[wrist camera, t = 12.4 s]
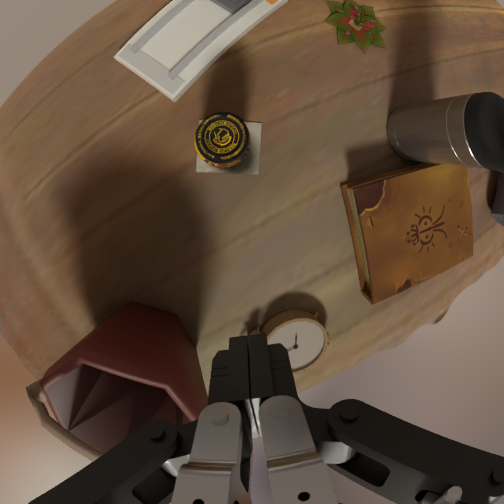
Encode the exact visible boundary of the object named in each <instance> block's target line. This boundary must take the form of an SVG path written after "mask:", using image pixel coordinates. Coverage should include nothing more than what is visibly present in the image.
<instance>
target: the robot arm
mask: <svg viewBox="0 0 504 504" xmlns="http://www.w3.org/2000/svg"><path fill="white" fill-rule="evenodd" d="M387 134H388V139H389V142H390V144H391V146H392V148H393V150H394V151H395V152H396V153H397V155H399V156H400V157H401V158H403V159H405V160H408V161H417V162H428V163H440V164H450V165H460V166H468V167H477V168H484V169H490V170H496V171H499V172H502V173H504V99H503V98H502V97H500V96H499V95H497V94H495V93H492V92H481V93H474V94H467V95H460V96H455V97H449V98H443V99H437V100H432V101H427V102H422V103H417V104H412V105H408V106H403V107H399V108H397V109H395V110H394V111H393V112H392V114H391V115H390V117H389V120H388V124H387ZM258 429H259V433H260V436H261V437H263V443H264V449H265V454H266V460H267V468H268V474H269V479H270V484H271V490H272V495H273V500H274V504H341V503H338V502H337V499H336V496H335V493H334V490H333V487H332V484H331V482H330V479H329V476H328V473H327V470H326V467H325V464H324V463H326V464H327V465H328V466H329V467H330V468H332V469H334V470H335V471H337V472H339V473H340V474H342V475H344V476H345V477H347V478H349V479H351V480H352V481H354V482H356V483H358V484H360V485H361V486H363V487H365V488H367V489H369V490H371V491H373V492H375V493H377V494H379V495H381V496H383V497H385V498H387V499H389V500H391V501H393V502H395V503H397V504H493V503H494V502H496V501H497V500H498V499H500V497H502V496H503V495H504V457H502V456H499V455H496V454H492V453H489V452H486V451H483V450H480V449H477V448H474V447H471V446H468V445H465V444H462V443H459V442H456V441H454V440H451V439H448V438H446V437H443V436H441V435H438V434H435V433H433V432H430V431H428V430H425V429H423V428H420V427H418V426H415V425H413V424H411V423H408V422H406V421H404V420H401V419H399V418H397V417H395V416H392V415H390V414H388V413H386V412H383V411H381V410H379V409H377V408H375V407H373V406H370V405H368V404H366V403H364V402H362V401H359V400H355V399H346V400H342V401H340V402H337V403H336V404H334V405H333V406H332V407H331V408H330V409H319V408H312V407H310V406H307V405H305V404H304V403H303V402H301V400H300V399H299V397H298V395H297V391H296V386H295V382H294V377H293V373H292V368H291V363H290V359H289V354H288V350H287V349H286V348H285V347H284V346H283V345H282V344H281V343H276V344H269V345H268V342H267V336H266V333H261V334H254V335H249V340H248V336H239V337H231V338H230V339H229V350H222V351H218V352H217V354H216V355H215V357H214V358H213V360H212V370H211V378H210V387H209V396H208V405H207V407H206V408H204V409H203V410H202V412H201V413H200V415H199V418H198V419H196V420H194V421H192V422H189V423H186V424H182V425H179V426H175V425H174V424H173V423H172V422H170V421H168V420H164V419H155V420H152V421H149V422H147V423H146V424H144V425H143V426H142V427H140V428H139V429H138V430H136V431H135V432H134V433H132V434H131V435H130V436H128V437H127V438H126V439H124V440H123V441H121V442H120V443H119V444H117V445H116V446H115V447H113V448H112V449H110V450H109V451H108V452H106V453H105V454H103V455H102V456H101V457H99V458H98V459H96V460H95V461H93V462H92V463H91V464H89V465H88V466H86V467H85V468H83V469H82V470H80V471H79V472H77V473H76V474H74V475H73V476H71V477H70V478H68V479H66V480H65V481H63V482H62V483H60V484H59V485H57V486H55V487H54V488H52V489H51V490H49V491H47V492H46V493H44V494H42V495H41V496H39V497H37V498H36V499H34V500H32V501H31V502H29V503H28V504H169V503H170V502H171V504H252V501H251V486H252V465H253V452H252V451H253V444H252V438H257V437H259V435H258Z"/></svg>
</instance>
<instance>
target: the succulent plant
mask: <svg viewBox="0 0 504 504" xmlns="http://www.w3.org/2000/svg"><path fill="white" fill-rule="evenodd" d="M326 2H327V4H328V6H329V8H330V9H331V11H332V13H333V15H331V16H330V17H329V18H328V19H327V20H324V22H327V23H330V24H332V25H335V26H337V27H338V40H339V41H338V44H342V43H351V42H355V41H356V42H357V43H358V45H359V46H360V47H361V49H362V50H363V51H364V53H366V51H367V49H368V47H369V46H370V44H373V45H376V46H379V47H383V48H385V45H384V43H383V40H382V37H381V36H380V34H379V33H378V32H381V31H382V30H383V29H384V28H386V27H384V26H383V25H382V24H381V23H380V22H379V21H378V20H377V19H375V18H379V17H375V14H374V11H373V7H366V6H362V7H360V6H359V5H358V4H356V3H355V2H353V1H351V0H347V1H346V2H345V5H342V4H340V3H336V2H329V1H326ZM337 9H338V10H340V11H344V12H345V14H346V15H345V14H343V13H339V12H338V10H337ZM366 13H367V15H366V16H365V17H363V14H366ZM353 17H355V18H356V19H357V21H355V19H354V21H355V24H356V25H357V26H362V25H364V26H362V29H361V30H360V31H357V30H356V29H354V28H353V27H352V26H351V25H350V24H348V23H349V21H350V20H351V19H352V18H353ZM360 23H362V24H360ZM346 30H351V35H346ZM368 32H369V33H371V35H372V37H373V38H371V36H370V34H369V33H368ZM385 49H386V48H385Z"/></svg>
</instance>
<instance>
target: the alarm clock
mask: <svg viewBox="0 0 504 504" xmlns="http://www.w3.org/2000/svg"><path fill="white" fill-rule="evenodd" d="M318 314H319V312H318V311H317V312H316V313H315V314H314V316H313V315H312V314H311V313H309V312H306V311H303V310H288V311H285V312H282V313H279V314H278V315H276V316H274V317H273V318H271V319H270V320H269V321H268V322H267V323H266V324H265V325H264V326H263V328H262V330H261V332H260V330H258V329H257V330H253V331H252V332H251V333H250V334H249V335H254V334H261V333H266V336H267V342H268V345H269V344H276V343H281V344H282V345H283V346H284V347H285V348H286V349H287V350H288V354H289V359H290V363H291V368H292V373H293V374H297V373H300V372H303V371H306V370H307V369H309V368H311V367H312V366H314V365H315V364H316V363H317V362H318V361H319V360H320V359H321V357H322V356H323V354H324V352H325V351H326V348H327V345H329V343H328V337H327V332H326V331H325V329H324V327H323V325H321V323H320V322H319V321H318V319H317V316H318ZM249 335H248V340H249Z"/></svg>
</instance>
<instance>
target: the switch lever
mask: <svg viewBox="0 0 504 504" xmlns="http://www.w3.org/2000/svg"><path fill="white" fill-rule="evenodd" d="M210 1H212V2H214V3H215V4H217V5H219V6H220V7H222V8H223V9H225V10H227V11H228V12H230V13H231V14H235V13H236V12H237V11H239V10H240V9H241V8H242V7H244V6H245V5H246V4H248V3H249V2H251V1H252V0H210Z"/></svg>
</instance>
